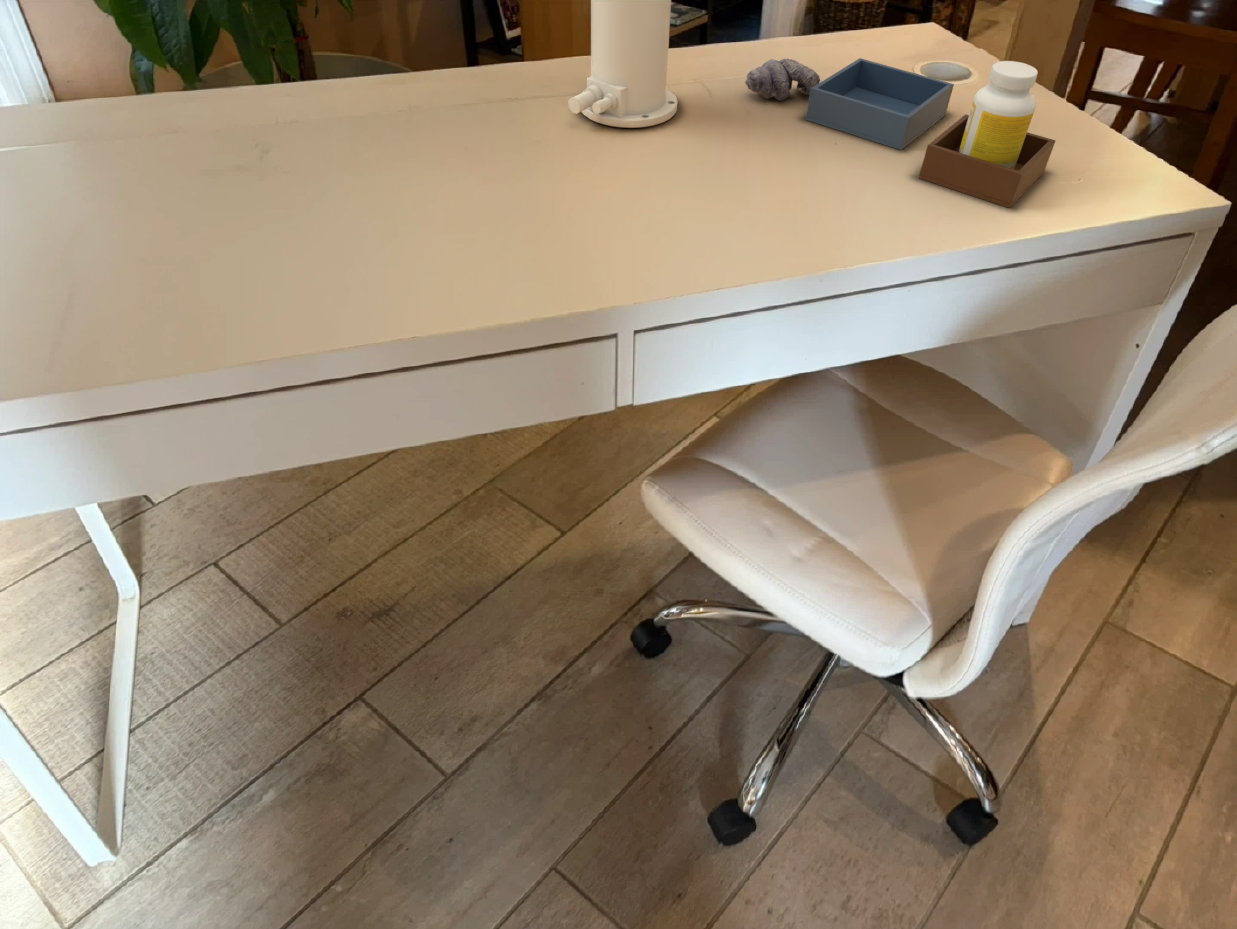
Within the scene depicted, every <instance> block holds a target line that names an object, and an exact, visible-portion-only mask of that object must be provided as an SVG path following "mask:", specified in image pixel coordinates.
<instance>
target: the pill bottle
mask: <svg viewBox="0 0 1237 929" xmlns="http://www.w3.org/2000/svg"><path fill="white" fill-rule="evenodd" d="M1038 74H1039V73H1038V69H1036V68H1035V67H1034V66H1032V65H1030V64H1028V63H1024V62H1021V61H1015V60H1001V61H996V62H995V63H993V65H992V66H991V70H990V72H989V76H988V82H989V83H988V84H987V85H984V86H983V87H981V88H980V89H979V90H978V91H977V92H976V94H975V95H974V97H973V100H972V103H971V108H970V111H969V114H968V115H969V117H968V121H967V124H966V128H965V131H964V135H963V138H962V142H961V145H960V149H959V153H962V154H966V155H969V156H972V157H975V158H979V159H982V160H985V161H988V162H991V163H995V164H998V165H1001V166H1004V167H1008V168H1011V169H1015V166H1016V163H1017V160H1018V157H1019V154H1020V151H1021V148H1022V146H1023V143H1024V140H1025V137H1026V134H1027V132H1028V130H1029V128H1030V125H1031V122H1032V119H1033V116H1034V114H1035V110H1036V107H1037V101H1036V98H1035V96H1034V95H1033V93H1032V92H1031V91H1030V90H1031V89H1032V88H1033V87H1034V86H1035V83H1036V81H1037V77H1038Z"/></svg>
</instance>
